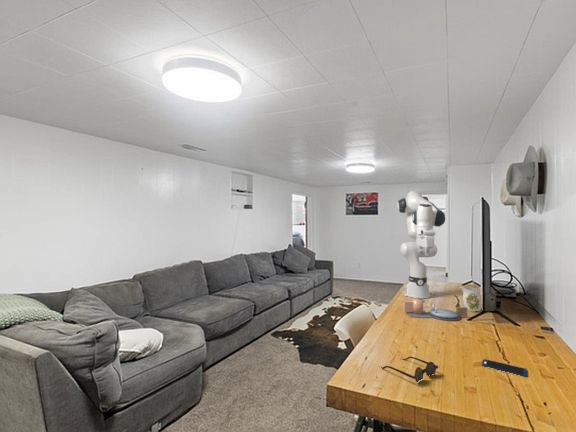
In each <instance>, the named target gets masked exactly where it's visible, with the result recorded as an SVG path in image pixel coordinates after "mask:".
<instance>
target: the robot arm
mask: <svg viewBox="0 0 576 432" xmlns="http://www.w3.org/2000/svg"><path fill="white" fill-rule="evenodd" d="M396 206H397V210H398V212H399V213H401V214H402V213H403V214H406V228H407V235H408V236H409V237H410V238H411V239H413V240H414V241H406V242H402V244H401V245H400V247H399V252H400V254H401V255H402V256H403V257H405V259H406V260H407V262H408V264H409V265H408V266H409V275H408V282H407V283H406V284H405V285H404V286H403V290H402V293H403V296H404V297H409V298H412V299H413V298H419V299H429V298H432V295H431V294H430V285H429V284H428V277H427V266H426V264H425V263H424V262H421V261H420V258H433V257H435V256H436V255H437V253H438V247H437V245H436V244H435V235H436V231H435V229H434V227H438V228H440V227H441V226H443V225H444V224H445V223H446V214H445V213H444V212H443V211H442V209H441V210H440V209H439V208H438V207H437V206H436V205H435V204H434V203H433V202H431V201H430V200H429V198H428V197H427V196H424V195H422V194H421V193H420V191H417V190H411V191H409V192H407V195H406V197H405V198H401V199H399V200H398V202H397V205H396Z"/></svg>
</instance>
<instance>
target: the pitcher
mask: <svg viewBox="0 0 576 432" xmlns="http://www.w3.org/2000/svg"><path fill="white" fill-rule="evenodd" d="M458 288H460V289H461V291H462V293H463V295H462V303H463V307H466V308H467V311H468V310H469V311H468V312H471V311H479V312H480V311H481V310H482V309H481V295H480V289H481V288H478V287H470V286H461V285H459V286H458Z"/></svg>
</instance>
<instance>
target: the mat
mask: <svg viewBox="0 0 576 432" xmlns="http://www.w3.org/2000/svg"><path fill="white" fill-rule="evenodd" d="M402 310H403V311H404V308H403V309H402ZM404 312H405V313H406V315H408V316H409V318H420V319H433V318H432V317H431V316H429V315H428V312H427V311H425V310H424V309H423V315H416V314H413V313H412V312H406V311H404Z"/></svg>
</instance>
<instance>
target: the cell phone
mask: <svg viewBox="0 0 576 432" xmlns="http://www.w3.org/2000/svg"><path fill="white" fill-rule="evenodd" d="M483 366H484V368H486V367H490V368H494V369H497V370H496V371H498V370H501V371H500V372H502V371H505V372H504V373H506V372H509V373H508V374H510V373H513V374H512V375H514V374H516V375H515V376H518V375H520V376H519V377H522V376H523V378H528V369H526V368H524V367H520V366H516V365H511V364H507V363H503V362H499V361H494V360H490V359H487V358H484V359H483V360H482V363H481V367H483ZM490 368H489V369H490ZM494 369H493V370H494Z"/></svg>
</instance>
